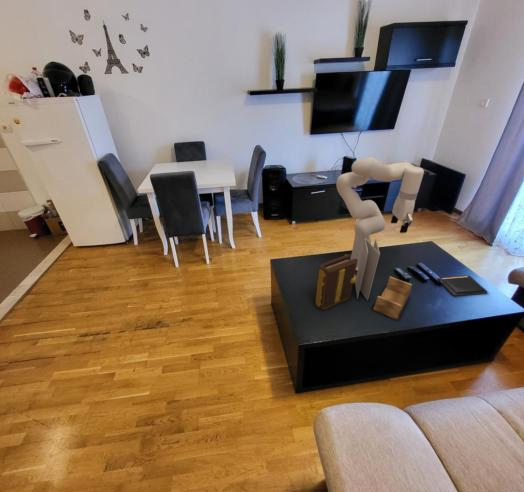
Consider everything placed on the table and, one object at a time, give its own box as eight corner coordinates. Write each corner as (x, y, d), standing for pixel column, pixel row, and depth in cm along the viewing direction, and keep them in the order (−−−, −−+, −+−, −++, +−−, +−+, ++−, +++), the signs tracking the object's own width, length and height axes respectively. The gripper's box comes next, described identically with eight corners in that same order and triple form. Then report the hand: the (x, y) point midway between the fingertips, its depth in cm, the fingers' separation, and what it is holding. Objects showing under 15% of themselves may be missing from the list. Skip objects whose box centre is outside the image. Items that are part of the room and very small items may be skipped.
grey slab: (367, 300, 147) (380, 253, 130) (356, 299, 148) (367, 252, 131) (365, 283, 159) (376, 238, 142) (355, 282, 160) (364, 237, 143)
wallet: (454, 294, 147) (437, 276, 160) (452, 296, 148) (436, 278, 161) (490, 291, 148) (470, 274, 161) (488, 294, 149) (469, 276, 162)
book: (322, 312, 141) (327, 273, 127) (312, 301, 147) (316, 263, 133) (355, 297, 149) (363, 259, 135) (344, 288, 156) (351, 251, 142)
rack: (372, 309, 142) (376, 296, 137) (385, 289, 155) (389, 276, 149) (397, 320, 136) (402, 306, 130) (408, 297, 148) (413, 284, 143)
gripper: (391, 188, 134) (383, 220, 144) (408, 202, 120) (398, 236, 130) (406, 187, 135) (397, 219, 144) (425, 202, 120) (414, 236, 130)
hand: (398, 227), depth 137 cm, fingers open, 9 cm apart
